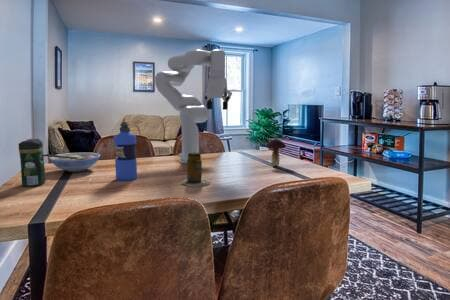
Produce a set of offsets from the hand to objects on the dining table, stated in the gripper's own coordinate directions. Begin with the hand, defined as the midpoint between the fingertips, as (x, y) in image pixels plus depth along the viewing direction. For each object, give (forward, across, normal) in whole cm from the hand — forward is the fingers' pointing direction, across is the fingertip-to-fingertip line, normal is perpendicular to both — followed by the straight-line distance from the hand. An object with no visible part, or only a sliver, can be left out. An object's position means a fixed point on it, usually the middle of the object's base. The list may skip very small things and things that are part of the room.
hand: (217, 109), depth 167 cm
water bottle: (+31, -17, -45) cm, 57 cm away
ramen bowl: (+31, -50, -49) cm, 76 cm away
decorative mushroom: (+31, +24, +20) cm, 44 cm away
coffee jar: (+31, -39, -74) cm, 89 cm away
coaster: (+30, +13, -33) cm, 47 cm away
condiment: (+30, +13, -33) cm, 47 cm away
